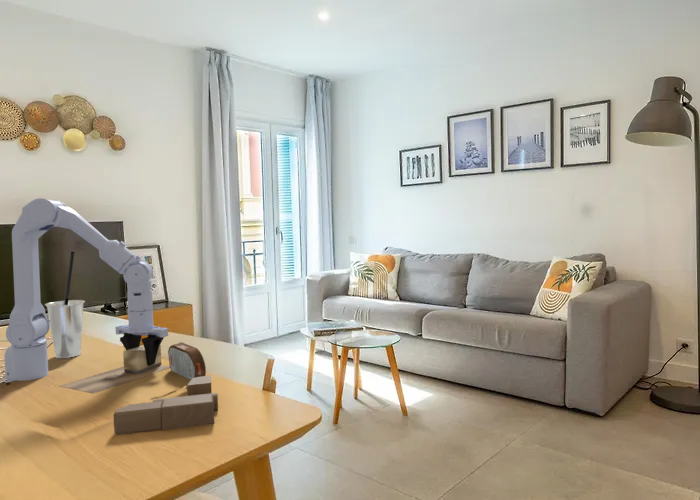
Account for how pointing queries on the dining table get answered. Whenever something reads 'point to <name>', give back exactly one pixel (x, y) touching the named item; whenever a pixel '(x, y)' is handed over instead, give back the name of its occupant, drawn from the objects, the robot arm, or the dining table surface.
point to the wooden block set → (170, 410)
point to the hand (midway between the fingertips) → (142, 363)
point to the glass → (66, 322)
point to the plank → (110, 379)
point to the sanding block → (138, 360)
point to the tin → (186, 361)
